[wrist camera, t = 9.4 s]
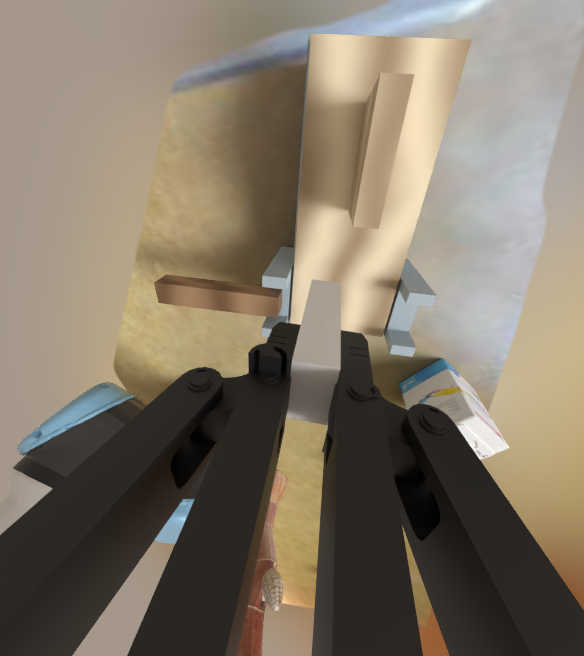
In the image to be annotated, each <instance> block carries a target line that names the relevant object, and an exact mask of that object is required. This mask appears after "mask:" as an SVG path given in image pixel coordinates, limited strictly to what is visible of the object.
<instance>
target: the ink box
mask: <svg viewBox="0 0 584 656" xmlns="http://www.w3.org/2000/svg"><path fill="white" fill-rule="evenodd" d="M399 385H400V388H401V392H402V395H403V398H404V402H405V405H406V408H407V410H408V409H409V408H411V407H412V406H413V405H416V404H426V405H431V406H433V407H436V408H438V409H440V410H441V411H443V412H444V413H446V414H447V415H448V416H449V417H450V418H451V419H452V421H453V422H454V423H455V424H456V426H457V427H458V429H459V430H460V432H461V433H462V435H463V436H464V437H465V439H466V440H467V442H468V443H469V445H470V446H471V448H472V449H473V450H474V452H475V453H476V455H477V456H478V458H479V459H480V460H481V459H483V458H486V457H489V456H492V455H494V454H495V453H498V452H501V451H503V450H505V449H508V448H509V447H508V445H507V444H506V442H505V440H504V439H503V437H502V435H501V434H500V432H499V430H498V429H497V427H496V425H495V424H494V422H493V420H492V419H491V417H490V415H489V414H488V412H487V410H486V409H485V407H484V405H483V404H482V402H481V401H480V399H479V397H478V396H477V394H476V392H475V391H474V389H473V388H472V386H470V385H469V384H468V383H467V382H466V381H465V380H464V379H463V378H462V377H461V376H460V375H459V374H458V373H457V372H456V371H455V370H454V369H453V368H452V367H451V366H450V365H449V364H448V363H447V362H446V361H445V360H444V359H440V360H438V361H437V362H435V363H433V364H432V365H430V366H428V367H426V368H424V369H423V370H421V371H419V372H418V373H416V374H414V375H413V376H411V377H409V378H408V379H406V380H404V381H403V382H401V383H400V384H399Z"/></svg>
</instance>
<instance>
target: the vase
mask: <svg viewBox="0 0 584 656" xmlns="http://www.w3.org/2000/svg"><path fill="white" fill-rule="evenodd" d="M286 485H287V478H286V476H285V474H284V473H282V472H281V471H279V470H276V472H275V477H274V482H273V487H272V492H271V496H270V501H269V506H268V511H267V515H266V520H265V525H264V530H263V535H262V539H261V544H260V549H259V554H258V559H257V563H256V568H255V573H254V578H253V583H252V587H251V592H250V597H249V602H248V607H247V611H246V616H245V621H244V626H243V631H242V635H241V640H240V645H239V650H238V655H237V656H262V636H263V621H264V611H265V607H266V603H268V605H269V607H270V608H271V609H272V610H274V611H277V610H278V609H280V607H281V603H282V598H283V582H282V578H281V576H280V574H279V573H278V572H277V571H276V567H277V559H276V551H275V546H274V540H273V523H274V518H275V513H276V509H277V506H278V504H279V502H280V500H281V498H282V496H283V493H284V491H285V488H286Z"/></svg>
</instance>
